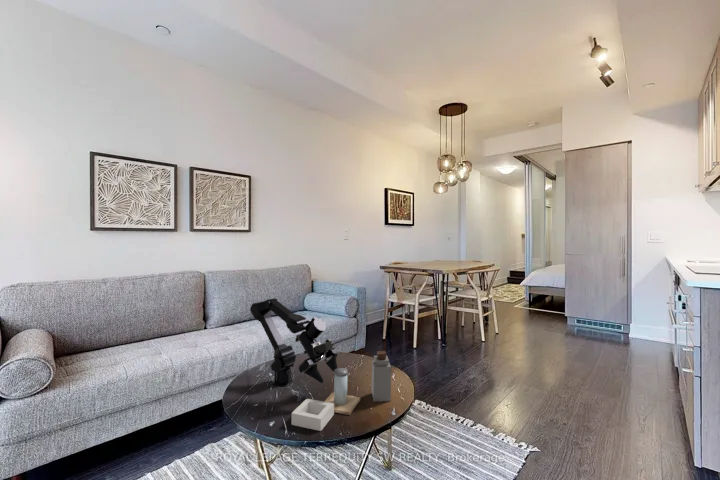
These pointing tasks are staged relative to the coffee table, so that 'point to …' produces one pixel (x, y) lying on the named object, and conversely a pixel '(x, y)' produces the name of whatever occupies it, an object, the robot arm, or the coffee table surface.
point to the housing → (312, 421)
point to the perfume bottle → (381, 377)
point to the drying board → (345, 408)
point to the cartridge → (340, 386)
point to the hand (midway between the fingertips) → (330, 378)
